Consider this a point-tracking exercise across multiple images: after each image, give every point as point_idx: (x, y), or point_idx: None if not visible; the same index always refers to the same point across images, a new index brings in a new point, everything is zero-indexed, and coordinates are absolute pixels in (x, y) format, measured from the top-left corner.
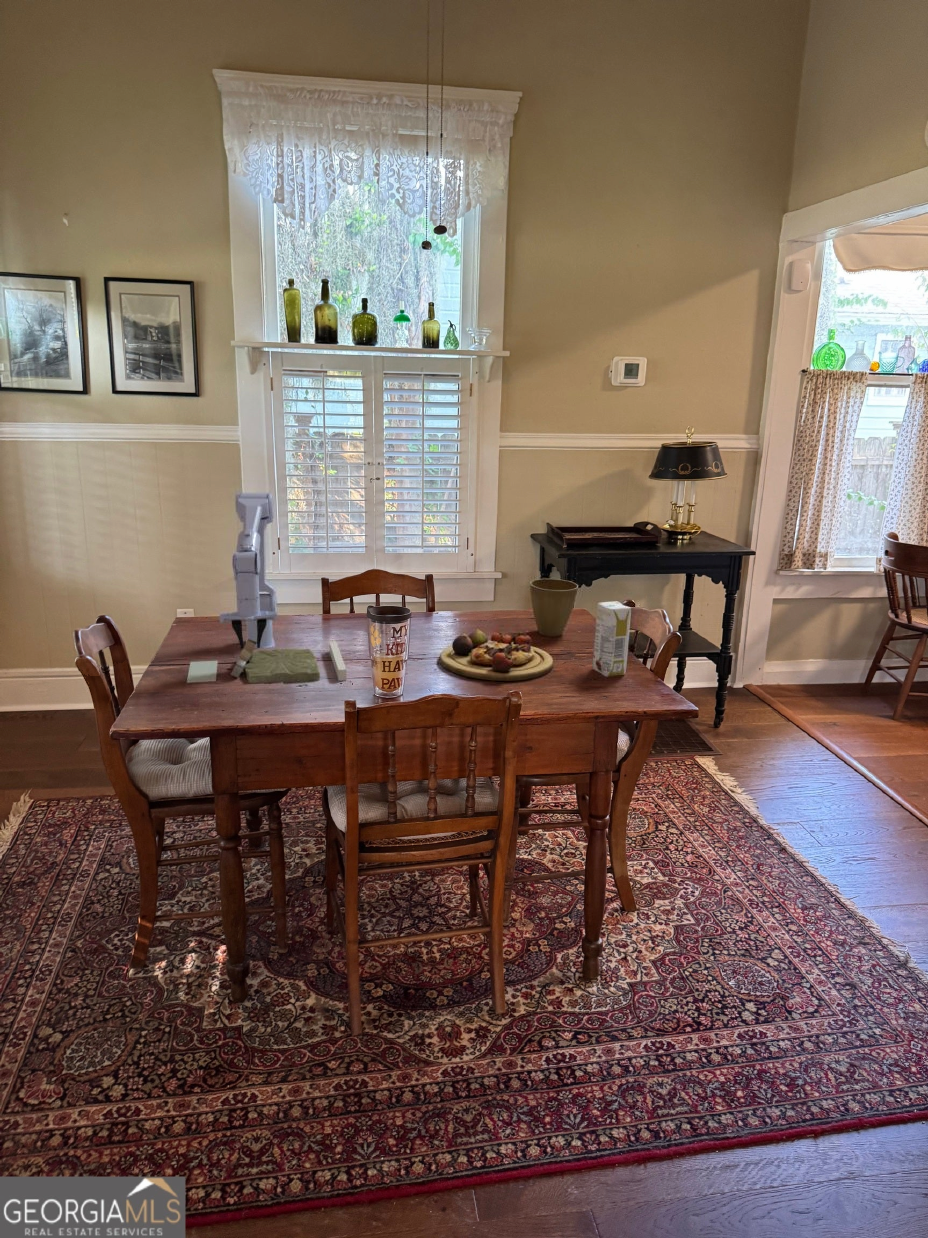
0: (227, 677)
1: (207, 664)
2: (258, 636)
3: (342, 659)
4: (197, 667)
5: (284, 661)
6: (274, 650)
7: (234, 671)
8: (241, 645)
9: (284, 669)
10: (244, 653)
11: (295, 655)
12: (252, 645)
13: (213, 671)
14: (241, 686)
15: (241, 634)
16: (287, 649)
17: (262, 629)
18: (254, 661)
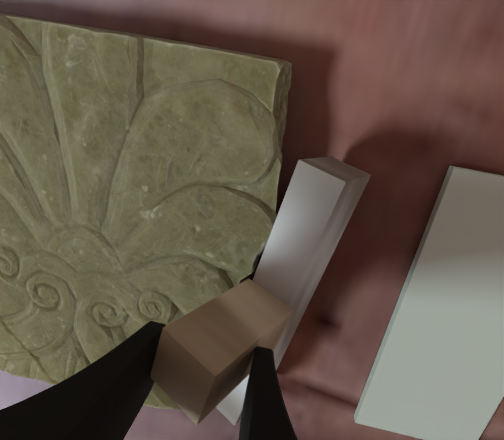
0: (366, 224)
1: (411, 399)
2: (106, 376)
3: None
4: (468, 383)
5: (61, 230)
6: None
7: (352, 170)
8: (267, 362)
9: (61, 86)
10: (257, 313)
11: (11, 300)
12: (189, 331)
13: (416, 307)
14: (334, 54)
15: (254, 438)
16: (43, 375)
17: (11, 418)
18: (210, 285)
